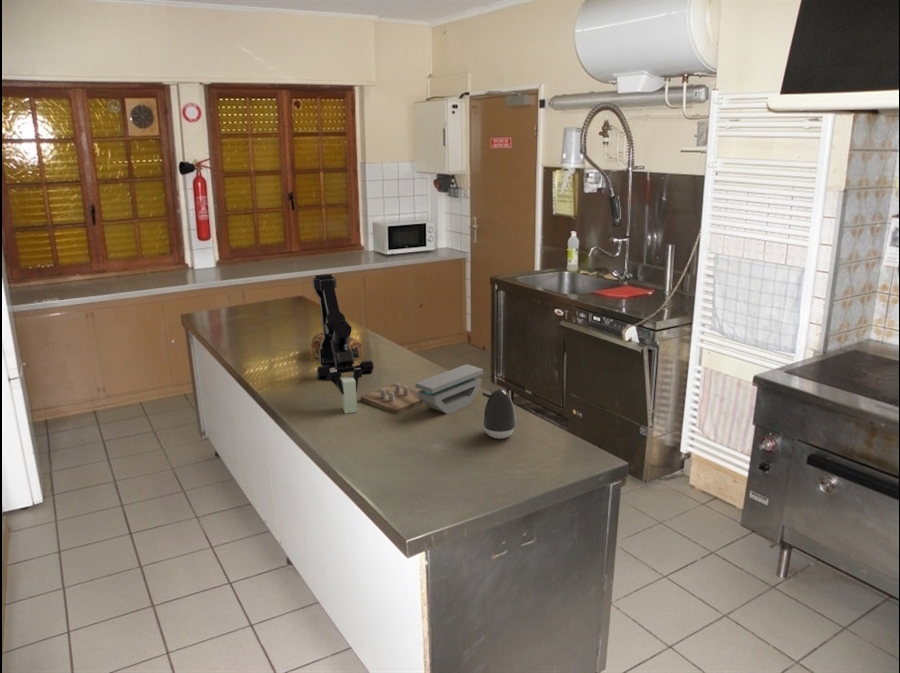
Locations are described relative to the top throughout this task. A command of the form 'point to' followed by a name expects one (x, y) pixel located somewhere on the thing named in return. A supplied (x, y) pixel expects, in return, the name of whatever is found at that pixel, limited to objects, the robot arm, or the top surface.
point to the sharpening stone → (450, 388)
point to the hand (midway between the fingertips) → (349, 393)
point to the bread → (318, 339)
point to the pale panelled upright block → (349, 394)
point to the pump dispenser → (499, 414)
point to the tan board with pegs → (393, 398)
